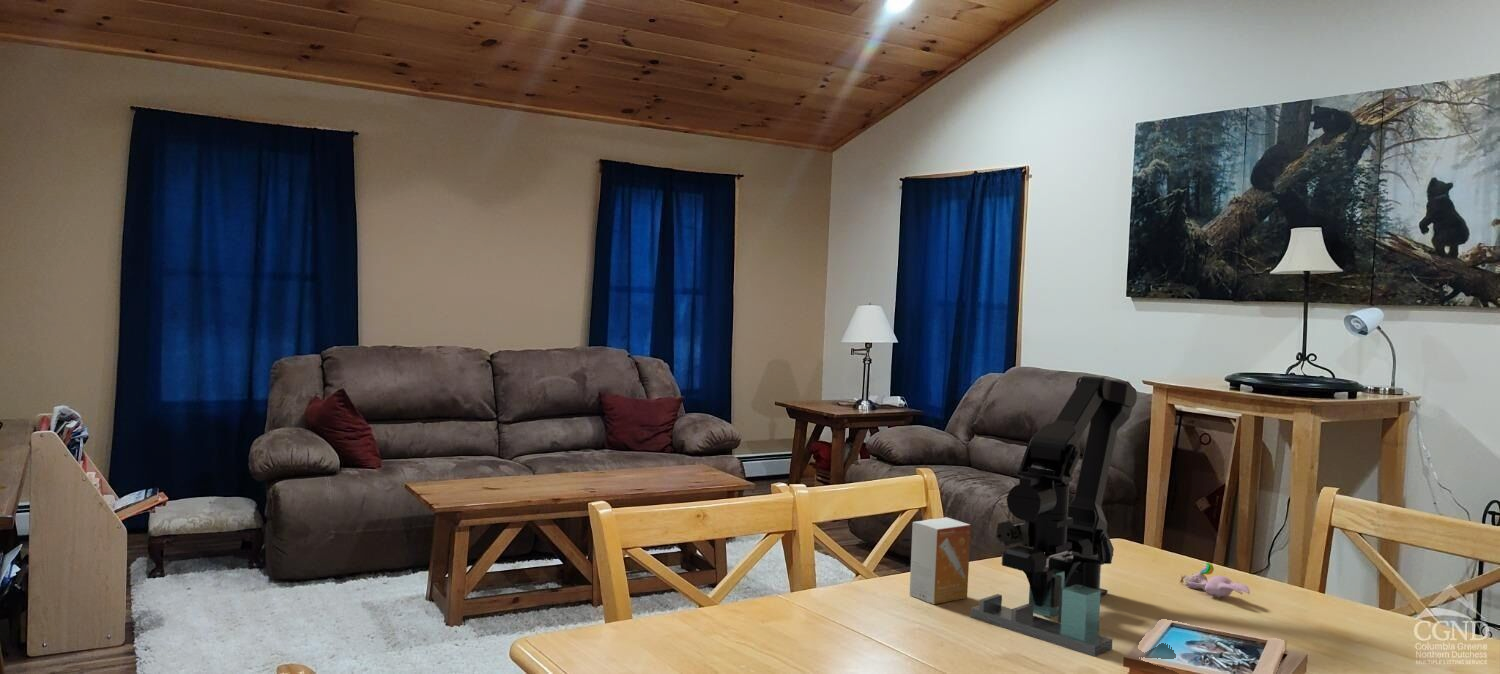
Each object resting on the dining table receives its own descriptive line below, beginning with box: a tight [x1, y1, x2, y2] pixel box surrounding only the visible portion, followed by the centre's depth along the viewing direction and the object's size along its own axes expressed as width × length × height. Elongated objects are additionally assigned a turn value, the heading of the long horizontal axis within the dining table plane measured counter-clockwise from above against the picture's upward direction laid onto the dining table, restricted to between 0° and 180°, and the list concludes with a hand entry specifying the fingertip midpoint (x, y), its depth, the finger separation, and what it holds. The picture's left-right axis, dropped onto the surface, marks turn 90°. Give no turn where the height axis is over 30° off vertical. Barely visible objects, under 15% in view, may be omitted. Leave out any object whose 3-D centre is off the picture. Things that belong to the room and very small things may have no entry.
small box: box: [909, 516, 972, 605], centre depth 176 cm, size 8×6×13 cm
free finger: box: [1028, 567, 1065, 618], centre depth 169 cm, size 4×5×7 cm
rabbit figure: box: [1179, 561, 1251, 599], centre depth 182 cm, size 6×6×15 cm
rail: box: [970, 584, 1113, 657], centre depth 159 cm, size 5×22×8 cm, turn 42°
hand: (1046, 603), depth 170 cm, fingers closed on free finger, 4 cm apart
